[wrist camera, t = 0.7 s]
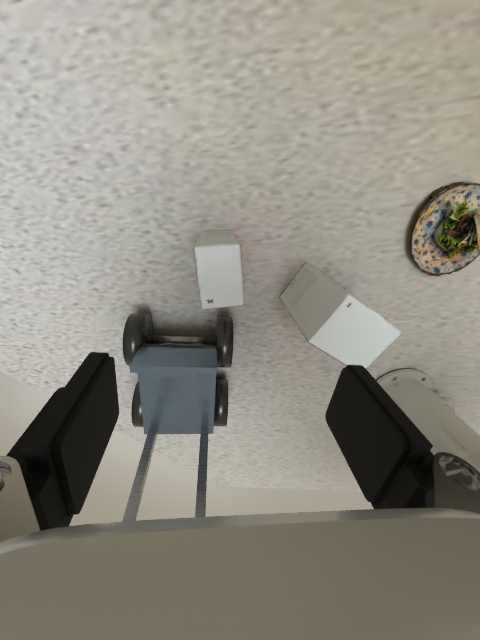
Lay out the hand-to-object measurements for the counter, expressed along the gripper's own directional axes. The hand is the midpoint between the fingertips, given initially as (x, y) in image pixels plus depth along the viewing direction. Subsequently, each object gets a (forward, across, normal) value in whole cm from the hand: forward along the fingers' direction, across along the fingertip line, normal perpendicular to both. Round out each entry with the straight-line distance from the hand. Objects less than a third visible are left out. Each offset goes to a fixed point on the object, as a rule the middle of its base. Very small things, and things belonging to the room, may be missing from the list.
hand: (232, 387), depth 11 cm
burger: (+26, -31, -6) cm, 41 cm away
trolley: (+26, +3, +17) cm, 32 cm away
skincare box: (+27, 0, 0) cm, 27 cm away
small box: (+26, -15, +4) cm, 30 cm away
